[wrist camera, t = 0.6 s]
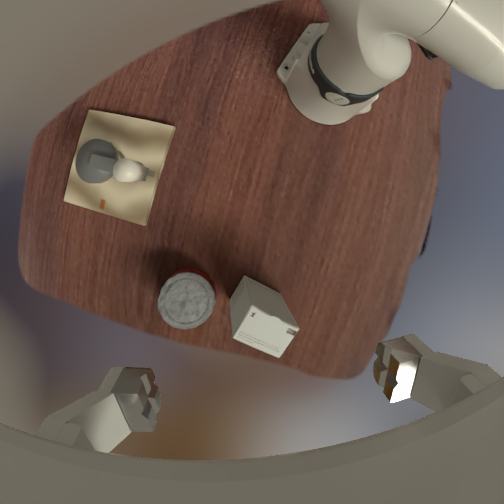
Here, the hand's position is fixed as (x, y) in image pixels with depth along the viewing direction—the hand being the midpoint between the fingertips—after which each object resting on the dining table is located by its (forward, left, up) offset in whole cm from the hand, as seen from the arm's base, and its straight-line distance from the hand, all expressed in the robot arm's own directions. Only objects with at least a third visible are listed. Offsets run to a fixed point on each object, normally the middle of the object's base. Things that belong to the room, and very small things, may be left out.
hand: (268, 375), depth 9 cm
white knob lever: (-4, -22, -35) cm, 42 cm away
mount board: (-4, -25, -42) cm, 49 cm away
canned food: (+15, -5, -43) cm, 46 cm away
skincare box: (+12, +7, -43) cm, 45 cm away
